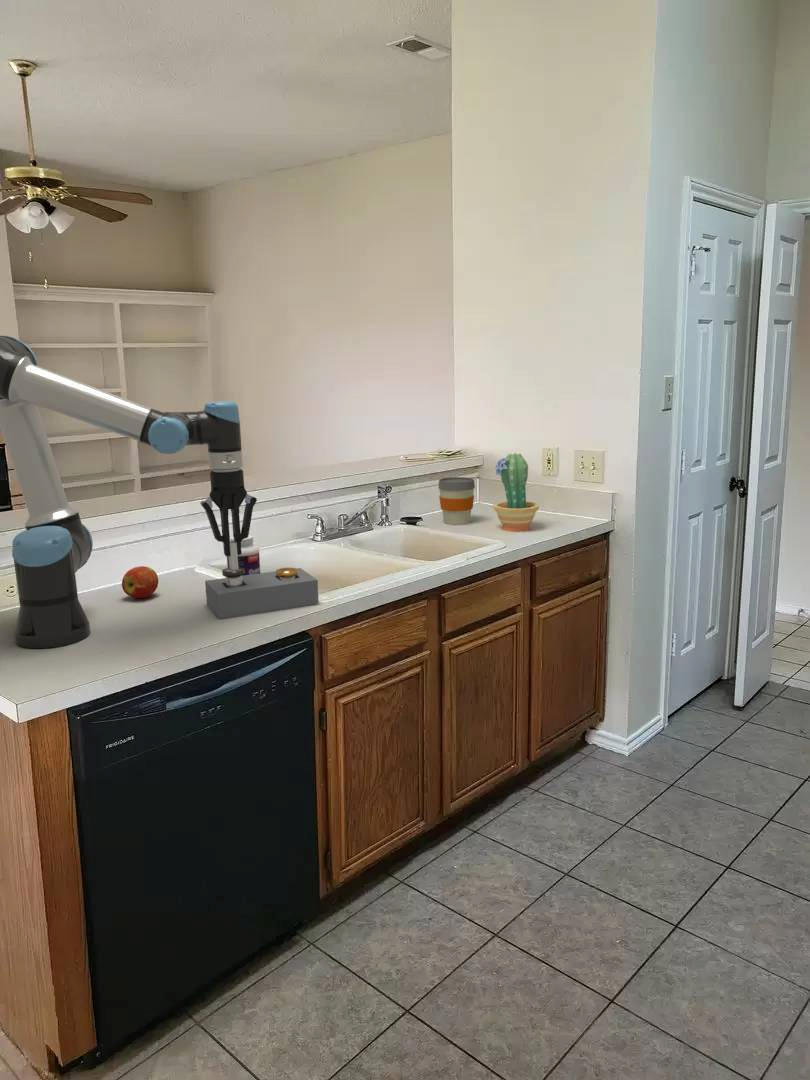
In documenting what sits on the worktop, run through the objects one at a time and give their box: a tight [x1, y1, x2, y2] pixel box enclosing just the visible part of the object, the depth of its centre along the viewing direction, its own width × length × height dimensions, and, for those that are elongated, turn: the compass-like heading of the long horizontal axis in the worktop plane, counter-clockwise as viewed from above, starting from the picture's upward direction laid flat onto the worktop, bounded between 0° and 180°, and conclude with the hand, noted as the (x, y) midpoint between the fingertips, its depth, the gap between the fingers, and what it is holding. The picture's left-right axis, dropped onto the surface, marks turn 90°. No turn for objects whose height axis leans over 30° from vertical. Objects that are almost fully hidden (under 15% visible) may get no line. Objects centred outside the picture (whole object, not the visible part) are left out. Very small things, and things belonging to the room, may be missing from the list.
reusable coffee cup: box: [438, 476, 476, 526], centre depth 292 cm, size 13×13×15 cm
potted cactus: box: [493, 453, 540, 532], centre depth 279 cm, size 15×15×25 cm
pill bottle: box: [226, 534, 261, 576], centre depth 212 cm, size 8×8×14 cm
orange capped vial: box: [275, 567, 298, 581], centre depth 205 cm, size 5×5×8 cm
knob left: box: [221, 567, 245, 588], centre depth 199 cm, size 5×5×8 cm
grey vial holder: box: [204, 567, 320, 620], centre depth 203 cm, size 24×13×6 cm, turn 115°
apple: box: [121, 565, 159, 599], centre depth 211 cm, size 8×8×8 cm
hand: (233, 568), depth 199 cm, fingers closed
